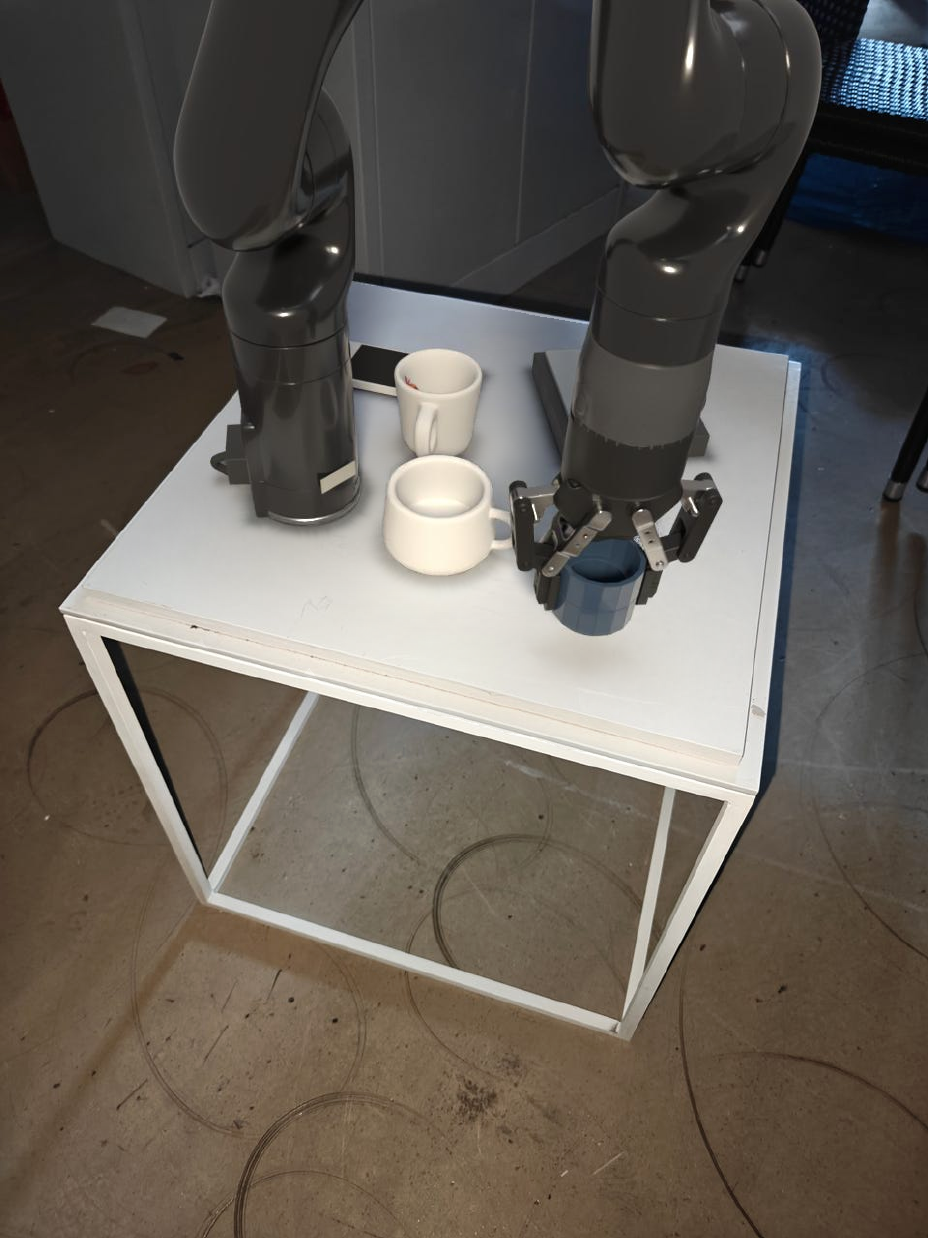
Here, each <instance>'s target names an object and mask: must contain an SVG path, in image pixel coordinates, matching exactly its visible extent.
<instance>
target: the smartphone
mask: <svg viewBox="0 0 928 1238" xmlns="http://www.w3.org/2000/svg"><path fill="white" fill-rule="evenodd" d="M350 353H351V367H352V382H353V388H355V389H360V390H365V391H368V392H369V391H370V392H375V393H380V394H384V395H389V396H394V397H397V392H396V384H395V377H394V373H395V368H396V366H397V364H398V363H399V362H400V361H401V360H402V359H403V358H404V357H406V356H408V355H409V354H412V353H413V352H408V351H403V350H399V349H394V348H393V349H392V348H388V347H384V346H378V345H374V344H368V343H363V342H359V341H352V340H350Z"/></svg>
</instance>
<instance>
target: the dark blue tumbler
mask: <svg viewBox="0 0 928 1238" xmlns="http://www.w3.org/2000/svg"><path fill="white" fill-rule="evenodd" d="M643 549H644V548H643V546H641V545H640V544H639V543H638V542H637V541H636V540H635V539H634V540H617V539H608V540H604V541H600V542H590V543H589V544H588V545H587V546H586V548H585V549H584V550H583V551H582V552H581V554H580V555H579V556H578V557H577V558H574V557H571V559H570V560H569V561H568V562H567V563H566V565H565V566H564V567H563V568H562V569H561V571H560V572H561V576H562V578H561V583H560V588H559V594H558V599H557V605H556V610H551V612H552V614H553V616H554V617H555V618H556V619H557V620H558V621H559V623H560V624H562V626H564V627H566V628H567V629H569V630H570V631H573V632H574V633H576V634H579V635H582V636H586V637H605V636H609V635H613V634H615V633H617V632H619V631H622V630H623V629H624V628H625V627H626V626H627V625H628V624H629V623H630V622H631V620H632V618H633V614H634V611H635V606H636V605H635V603H636V600H637V596H638V592H639V589H640V585H641V582H642V578H643V574H644V571H645V566H646V561H647V560H646V557H645V554H644V552H643Z"/></svg>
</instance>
